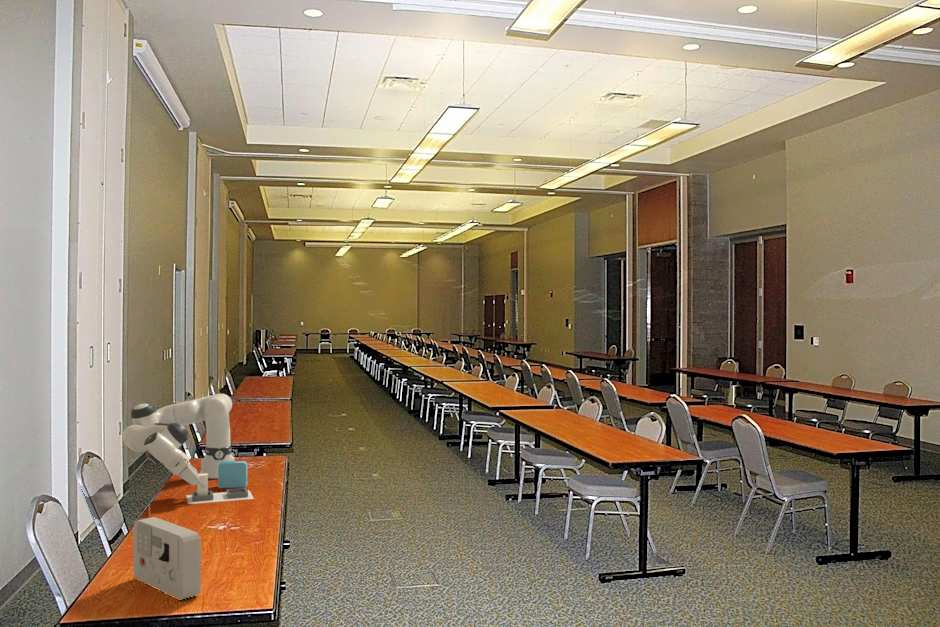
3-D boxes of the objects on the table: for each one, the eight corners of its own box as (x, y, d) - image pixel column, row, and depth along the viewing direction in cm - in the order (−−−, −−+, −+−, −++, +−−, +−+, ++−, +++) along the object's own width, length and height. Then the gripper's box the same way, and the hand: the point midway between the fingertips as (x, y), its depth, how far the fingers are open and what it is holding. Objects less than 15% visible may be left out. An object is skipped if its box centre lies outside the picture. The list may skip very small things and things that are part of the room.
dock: (186, 497, 328) (186, 490, 328) (249, 492, 338) (249, 485, 338) (188, 506, 313) (188, 499, 313) (253, 501, 323) (254, 493, 323)
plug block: (197, 497, 324) (197, 473, 324) (207, 496, 326) (207, 473, 326) (197, 499, 320) (197, 475, 320) (207, 499, 322) (207, 475, 322)
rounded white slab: (125, 581, 228) (125, 520, 228) (150, 574, 234) (150, 515, 234) (175, 605, 210) (175, 539, 210) (200, 597, 216) (201, 533, 215)
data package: (247, 487, 348) (247, 460, 348) (246, 489, 344) (246, 462, 344) (219, 487, 346) (220, 461, 346) (218, 490, 342) (218, 463, 342)
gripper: (172, 464, 328) (196, 485, 332) (173, 474, 309) (199, 496, 313) (183, 453, 330) (207, 474, 334) (185, 462, 311) (211, 484, 315)
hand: (203, 485), depth 323 cm, fingers open, 8 cm apart
